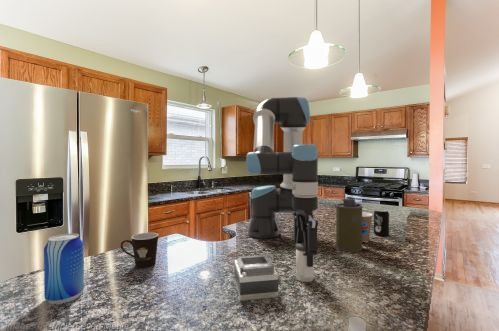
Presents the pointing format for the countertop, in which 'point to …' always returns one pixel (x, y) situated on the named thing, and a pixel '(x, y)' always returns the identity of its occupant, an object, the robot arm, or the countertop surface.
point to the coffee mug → (143, 249)
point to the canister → (349, 225)
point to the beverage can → (381, 222)
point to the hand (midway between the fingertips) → (304, 272)
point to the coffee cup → (366, 226)
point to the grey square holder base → (255, 277)
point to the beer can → (63, 268)
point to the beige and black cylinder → (301, 264)
